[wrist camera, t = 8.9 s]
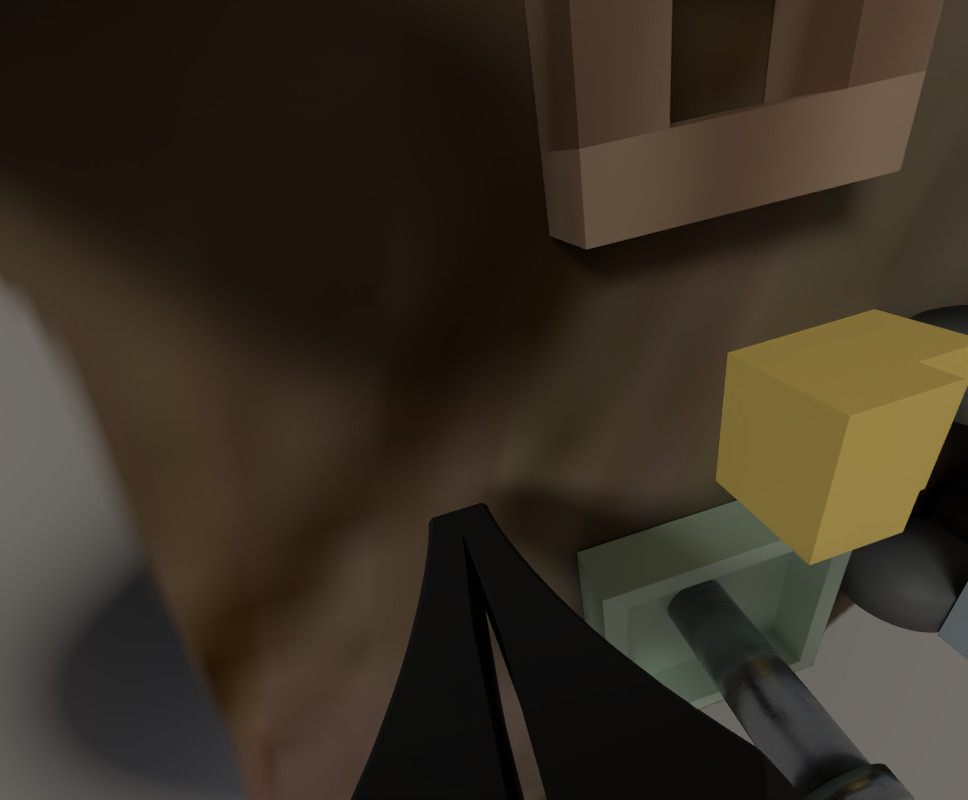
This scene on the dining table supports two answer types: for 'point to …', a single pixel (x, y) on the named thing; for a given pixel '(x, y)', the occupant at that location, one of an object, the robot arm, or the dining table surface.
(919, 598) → the trolley
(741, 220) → the dining table surface
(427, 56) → the dining table surface
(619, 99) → the pin socket
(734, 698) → the stop pin
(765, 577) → the tray
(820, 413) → the block
